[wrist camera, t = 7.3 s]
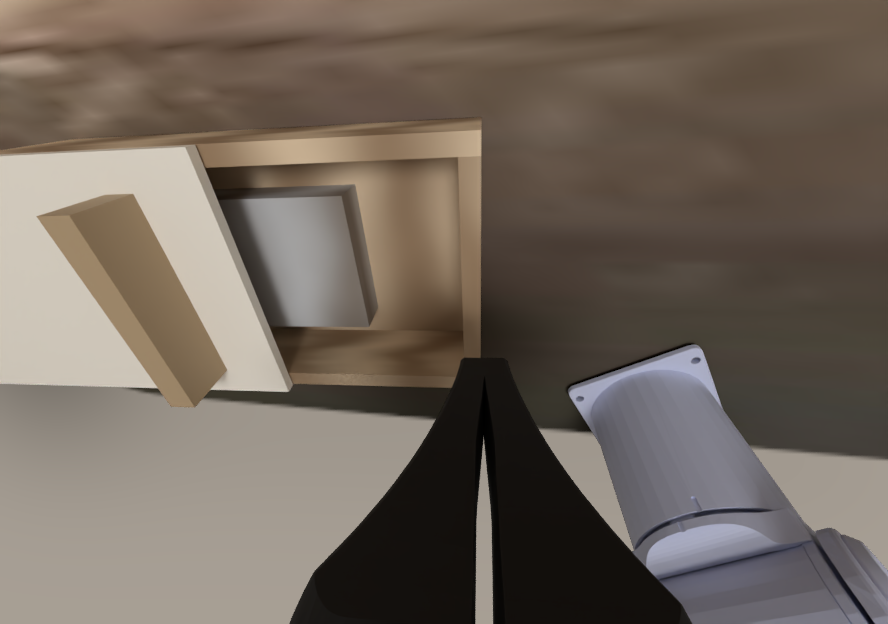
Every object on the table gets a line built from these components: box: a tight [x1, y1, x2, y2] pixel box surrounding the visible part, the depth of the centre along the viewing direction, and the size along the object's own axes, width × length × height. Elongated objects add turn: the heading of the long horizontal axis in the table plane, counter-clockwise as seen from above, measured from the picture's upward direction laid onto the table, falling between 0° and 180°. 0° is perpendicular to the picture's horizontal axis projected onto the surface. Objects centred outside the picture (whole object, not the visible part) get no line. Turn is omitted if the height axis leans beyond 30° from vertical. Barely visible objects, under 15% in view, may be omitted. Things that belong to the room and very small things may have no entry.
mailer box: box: [0, 117, 481, 388], centre depth 18 cm, size 20×12×4 cm, turn 93°
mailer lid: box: [0, 145, 293, 407], centre depth 16 cm, size 20×12×3 cm, turn 93°
